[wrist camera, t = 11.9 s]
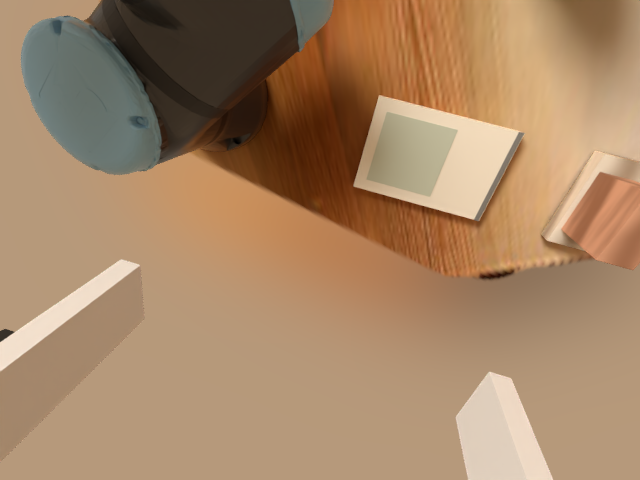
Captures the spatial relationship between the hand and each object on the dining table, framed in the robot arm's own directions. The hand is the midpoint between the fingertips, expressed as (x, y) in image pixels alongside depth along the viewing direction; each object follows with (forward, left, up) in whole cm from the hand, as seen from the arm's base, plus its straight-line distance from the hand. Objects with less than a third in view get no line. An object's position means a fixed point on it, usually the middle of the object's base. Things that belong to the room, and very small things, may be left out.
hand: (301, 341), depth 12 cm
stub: (+30, +1, -36) cm, 47 cm away
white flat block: (+9, +1, -37) cm, 38 cm away
